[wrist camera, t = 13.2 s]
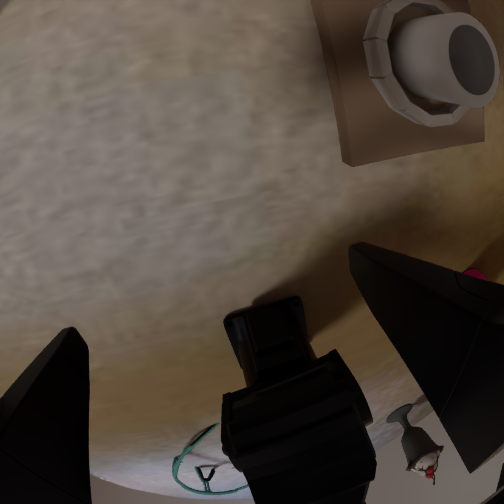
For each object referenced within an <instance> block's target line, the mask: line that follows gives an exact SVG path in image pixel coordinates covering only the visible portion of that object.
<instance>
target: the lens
mask: <svg viewBox="0 0 504 504" xmlns="http://www.w3.org/2000/svg"><path fill="white" fill-rule="evenodd" d="M388 50H389V56H390V61H391V67H392V71H393V73H394V75H395V77H396V79H397V80H398V82H399V83H400V84H401V85H402V87H403V88H404V89H405V90H407V91H408V92H409V93H411V94H412V95H414V96H417V97H420V98H425V99H431V100H437V101H443V102H449V103H454V104H459V105H464V106H469V107H473V108H481V107H484V106H486V105H487V104H488V103H489V102H491V100H492V99H493V97H494V96H495V94H496V91H497V88H498V84H499V76H500V69H499V60H498V55H497V51H496V48H495V46H494V43H493V41H492V39H491V37H490V35H489V33H488V32H487V30H486V29H485V28H484V26H483V25H482V24H481V23H480V22H479V21H478V20H477V19H475V18H474V17H473V16H471V15H469V14H466V13H462V12H455V13H446V14H438V15H431V16H424V17H418V18H412V19H407V20H403V21H401V22H399V23H398V24H397V25H396V26H395V27H394V28H393V30H392V32H391V34H390V36H389V40H388Z"/></svg>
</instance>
